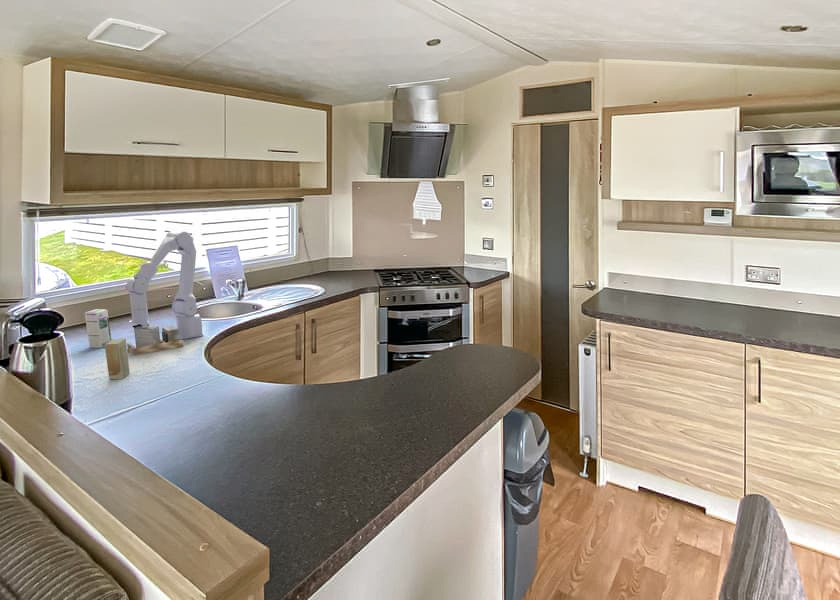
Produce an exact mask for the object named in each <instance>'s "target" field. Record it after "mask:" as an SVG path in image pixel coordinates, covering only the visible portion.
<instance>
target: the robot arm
mask: <svg viewBox="0 0 840 600" xmlns="http://www.w3.org/2000/svg"><path fill="white" fill-rule="evenodd" d="M172 251H178V253H180V254H181V260H180V272H179V281H178V282H179V284H178V292H177V294H175V296H174V300H173V302H172V304H171V310H172V311H173V313H175V319H176V328H178V329H179V339H180V340H184V339H185V340H186V339H191V338H197V337H203V336H204V334H203V324H202V318H201V316H200V314H199V313H197V312H198V311H197V310H198V305H197V303H196V302H197V298H196V297H195V296H194V294H193V293H194V282H195V281H194V280H195V271H196V270H195V269H196V261H197V260H196V258H197V249H196V247H195V243H194V237H193V236H192V235H191V234H190V233H189V232H187V231H176V230H170V231H168V232H167V233H166V235H165V236H164V237H163V238H162V241H161V243H160V245H159V246H158V247H157V249H156V251H155V253H154V254H153V256H152V257H151V258H150V260H149V261H145V262H144V263H141V264H140V268H139V270H138V271H137V272H136V273H135V274H134V275H133V276H132V278H130V279H129V280H128V281H127V283H126V285H125V289H126V290H127V291H128V293H129V303H130V310H131V319H130V320H129V321H128V323H129V324H133V325H132V328H133V329H134V328H136V327H139V326H142V328H148V326H150V324H149V322H150V319H149V312H148V311H149V310H148V300H147V291H148V290H149V289H150V288H149V286H150V284H149V283H151V281H152V280H153V278H154V277H155V276H156V274H157V273H158V271H159V269H158V267H159V265H160V264H161V263H162V262H163V261H164V259H165V258H166V256H168V255H169V253H170V252H172Z"/></svg>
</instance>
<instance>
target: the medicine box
mask: <svg viewBox="0 0 840 600" xmlns="http://www.w3.org/2000/svg"><path fill="white" fill-rule="evenodd" d="M133 331H134V339H135V348H137V347H143V346H149V345H155V344H161V341H160V339H161V334H160V327H159V326H158V325H149V326H148V328H142V326H139V327H136V328H133Z"/></svg>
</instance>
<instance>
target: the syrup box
mask: <svg viewBox="0 0 840 600" xmlns="http://www.w3.org/2000/svg"><path fill="white" fill-rule="evenodd" d="M84 319H85V323H86V324H85V325H86V331H87V338H88V344H89V345H88V346H89V348H91V349H92V348H93V349H103V348H105V344H106V343H108V342H109V341H111V340H112V334H111V327H110V319H109V312H108V309H105V308H100V309H99V308H98V309H97V308H96V309H93V310H89V311H85V312H84Z"/></svg>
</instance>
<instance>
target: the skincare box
mask: <svg viewBox="0 0 840 600" xmlns="http://www.w3.org/2000/svg"><path fill="white" fill-rule="evenodd" d="M104 350H105V351H104V352H105V357H106V363H107V365H106V366H107V372H108V373H107V374H108V379H118V380H123V379H125V378H127V376H129V375H130V373H131V371H130V370H131V369H130V364H129V363H130V362H129V355H128V348H127V339H126V338H115V339H114V338H113V339H112V338H111V341H109V342H108V343H106V344H105V347H104ZM124 377H125V378H124Z"/></svg>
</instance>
